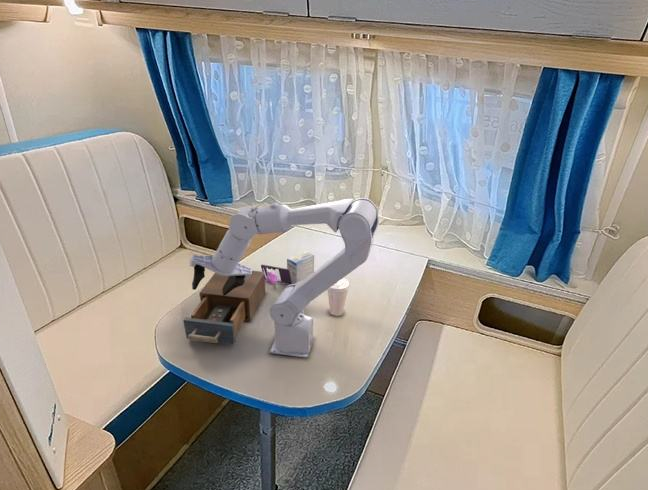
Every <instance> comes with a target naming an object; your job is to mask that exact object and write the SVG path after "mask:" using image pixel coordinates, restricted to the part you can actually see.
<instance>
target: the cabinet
mask: <svg viewBox="0 0 648 490" xmlns="http://www.w3.org/2000/svg"><path fill="white" fill-rule="evenodd" d="M251 272H252V275H251V276H250V278H249V279H247V278H244V280H245V282H244V284H243V285H242V286H239V287H236V288H234V289H233V290H231V291H230V292H229V293H228V294H227V295H223V291H222V289H223V286H224V285H225V283H226V281H227V280H228V278H229V276H222V275H220V274H217V273H215V272H214V274H213V275H212V276H211V277H210V279H208V281H207V282H206V283H205V285H204V286H203V288H201V290H200V291H199V300H200V302H201V301H202V300H203V298H204V297H205V296H211V297H219V298H228V299H236V300H244V301H246V305H247V316H246V318H245V319H244V321H243V322H247V323H248V322H249V323H251V322H252V320H253V318H254V316H255V314H256V312H257V311H258V309H259V307H260V306H261V303H262V301H263V299H264V298H265V296H266V280H265V277H266V274H265V271H264V272H262V271H260V270H251ZM264 274H265V275H264Z"/></svg>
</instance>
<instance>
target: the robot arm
mask: <svg viewBox="0 0 648 490" xmlns="http://www.w3.org/2000/svg"><path fill="white" fill-rule="evenodd" d="M228 223H229V224H228V229H227V231H225V234H224V236H223V238H222V240H221V241H220V243H219V245H218V247H217V248H216V251H215V252H214V254H213V255H211V254H210V255H209V254H208V255H207V254H206V255H204V254H203V255H199V254H192V255H191V257H190V259H189V266H190V267H193V279H192V283H191V289H192V290H194V291H196V290H197V288H198V286H199V285H200V283H201V281H202V280H203V279H204V278H205V277H206V275H205V272H206V269H207V270H209V271H210V272H211V271H212V272H214V274H215V273H217V274H220V275H222V276H229V278H228V280H227V281H226V283H225V285H224V286H223V289H222V291H223V295H227V294H228V293H229V292H230V291H231V290H233V289H234V288H236V287H239V286H242V285H243V284H244V282H245V280H244V278H247V279H249V278H250V276H251V275H252V272H251V271H252V268H251V267H248V266H245V265H244V264H241V263H240V262H241V259H242V258H243V256H244V254H245V253H246V251H247V250H248V248H249V247H250V245H251V242H252V240H253V238H254V236H255V235H269V234H277V233H285V232H286V233H287V232H289V231H290V230H291V229H292V227H293V226H305V225H306V226H307V225H323V224H325V225H327V226H328V227H329V229H331V230H332V231H333V233H337V232H338V231H339V233H340V236H341V239H342V241H343V243H344V248H343V249H342V250H340V251H339V252H337V253H336V254H335V255H334V256H332V257H331V258H330V259H329V260H328V261H326V262H325V263H323V264H322V265H321V266H319V267H318V268H317V269H316V270H314V272H313V273H312V274H311V275H309V276H308V277H307V278H306V279H304V280H303V281H299V282H297V283H296V284H287V285H285V287H284V288H283V289H282V291H281V294H280V295H279V296H278V298H277V299H276V300H275V302H274V303H273V304H272V305H271V307H270V308H269V316H270V318H271V319H272V321H273V322H274V324H273V325H274V341H273V343H272V346H271V347H270V348H271V349H270V350H269V353H270V354H273V355H275V354H276V355H282V356H283V355H284V356H291V357H299V358H308V357H309V354H310V351H311V349H312V345H313V343H314V318H313V317H311V316H308V315H306V314H305V313H304V310H305V308H306V307H307V306H308V305H309V304H310V303H311V302H313V300H315V299H316V298H318V297H319V296H321V295H322V294H323V293H324V292H326V291H328V288H330V287H331V286H333V285H334V284H335V283H337V282H338V281H339V280H341V279H342V278H344V279H345V278H346V276H347V275H349V274H350V273H352V272H353V271H355V270H356V269H357V268H358V267H360V266H361V265H363V264H364V263H366V262H367V260H368V258H369V256H370V253H371V250H372V246H373V243H374V239H375V236H376V232H377V229H378V227H379V223H380V222H379V211H378V207H377V205H376V204H375V203H374V202H373V201H372V200H371V199H369V198H365V197H359V198H356V199H354V198H344V199H340V200H336V201H331V202H325V203H320V204H319V203H318V204H314V205H307V206H303V207H297V208H296V207H295V208H290V207H289V206H288V205H286V204H279V202H272V203H271V204H270V205H269V206H262V207H257V206H256V205H253V206H245V207H243V208H241V209H240V210H239V211H238V212H237V213H236V214H234V215H233V216H232V217H231V218H230V220H229V222H228Z"/></svg>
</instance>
